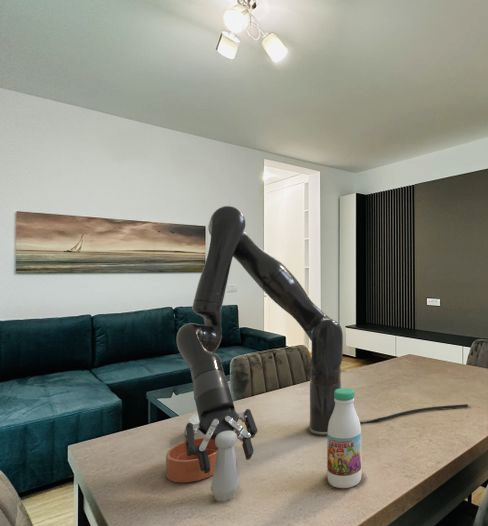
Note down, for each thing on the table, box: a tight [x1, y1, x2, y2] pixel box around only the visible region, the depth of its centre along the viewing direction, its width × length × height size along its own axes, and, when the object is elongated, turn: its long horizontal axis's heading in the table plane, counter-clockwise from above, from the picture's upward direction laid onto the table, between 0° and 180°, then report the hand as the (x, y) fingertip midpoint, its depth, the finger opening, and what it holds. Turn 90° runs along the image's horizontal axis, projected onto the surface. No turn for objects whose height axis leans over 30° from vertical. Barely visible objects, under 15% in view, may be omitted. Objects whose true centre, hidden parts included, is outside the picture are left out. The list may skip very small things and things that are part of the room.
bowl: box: [165, 438, 218, 483], centre depth 89 cm, size 12×12×5 cm
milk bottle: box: [326, 387, 363, 489], centre depth 85 cm, size 8×8×20 cm
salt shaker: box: [210, 431, 241, 503], centre depth 78 cm, size 6×6×13 cm
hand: (229, 464), depth 77 cm, fingers open, 8 cm apart
